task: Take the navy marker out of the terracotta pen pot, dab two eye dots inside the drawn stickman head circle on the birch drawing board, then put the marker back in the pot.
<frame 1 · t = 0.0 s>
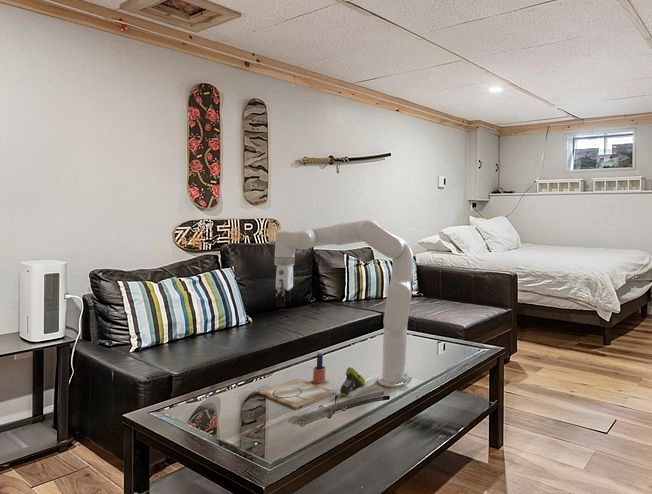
hand: (283, 303, 197), 31 cm above the table, tool pointing down, fingers open, 9 cm apart
drawing board: (297, 393, 185), on the table
pen: (319, 381, 197), point 1 cm above the table, touching pen pot
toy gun: (352, 392, 189), on the table
pen pot: (319, 382, 197), on the table
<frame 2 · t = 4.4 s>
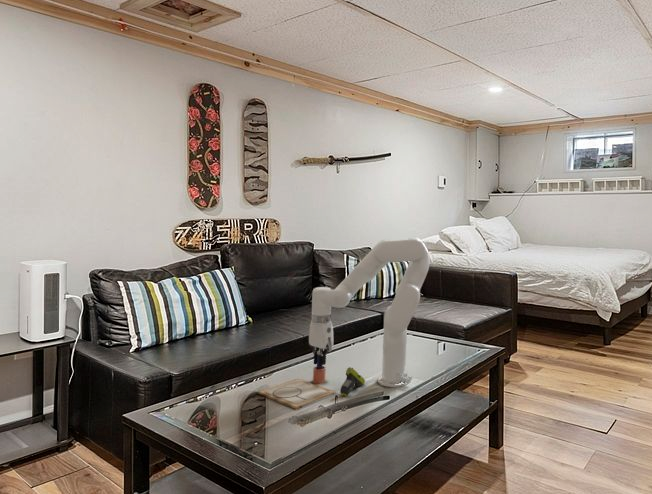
hand: (319, 363, 197), 8 cm above the table, tool pointing down, fingers closed on pen, 2 cm apart
pen: (319, 381, 197), point 1 cm above the table, touching gripper
everything else where it was.
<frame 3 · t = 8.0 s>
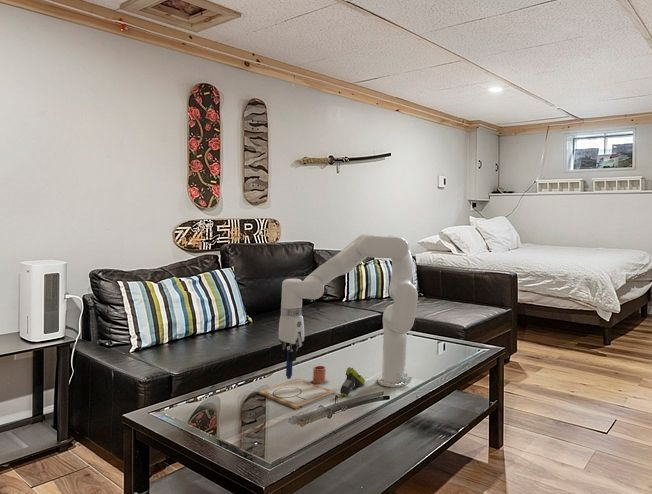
hand: (289, 360, 186), 12 cm above the table, tool pointing down, fingers closed on pen
pen: (288, 378, 186), point 5 cm above the table, touching gripper
everything else where it was.
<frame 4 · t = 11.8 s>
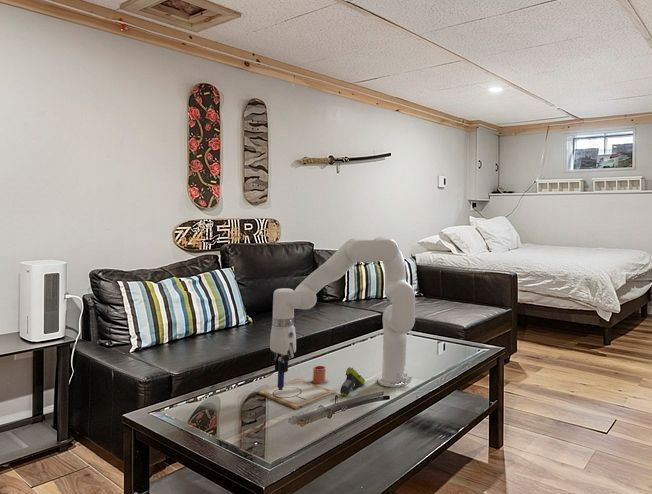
hand: (281, 371, 183), 9 cm above the table, tool pointing down, fingers closed on pen, 2 cm apart
pen: (280, 389, 183), point 2 cm above the table, touching gripper
everything else where it was.
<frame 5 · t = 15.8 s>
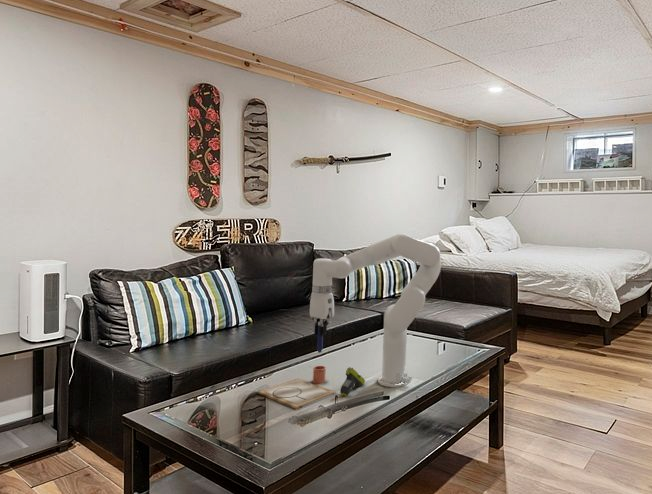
hand: (320, 334, 197), 19 cm above the table, tool pointing down, fingers closed on pen
pen: (319, 352, 197), point 12 cm above the table, touching gripper
everything else where it was.
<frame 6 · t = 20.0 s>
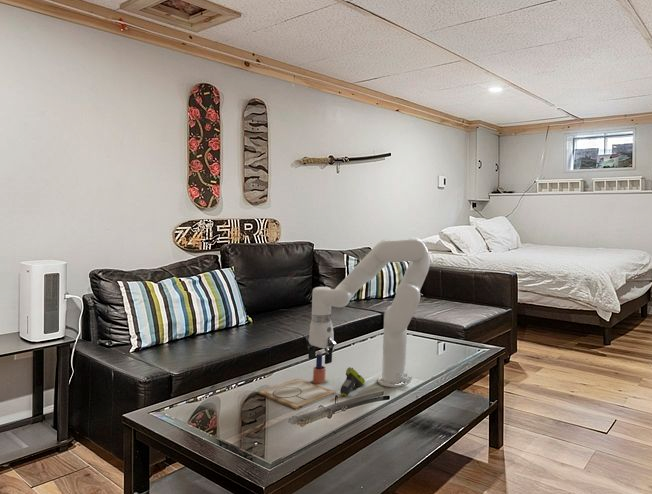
hand: (320, 360, 197), 9 cm above the table, tool pointing down, fingers open, 9 cm apart
pen: (318, 381, 197), point 1 cm above the table, touching pen pot
everything else where it was.
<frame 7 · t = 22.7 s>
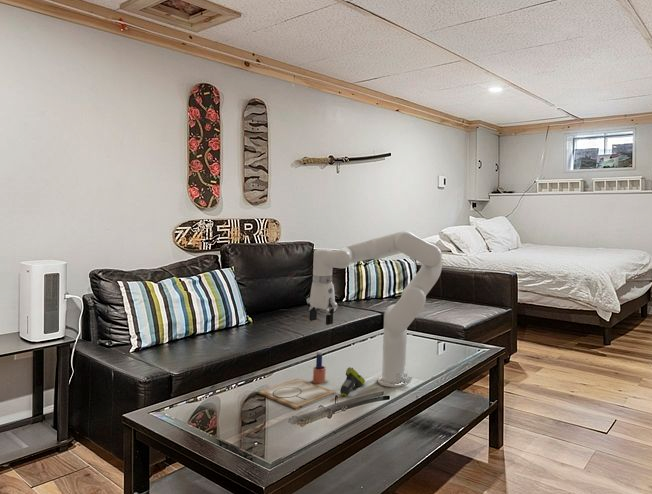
hand: (321, 322, 197), 24 cm above the table, tool pointing down, fingers open, 9 cm apart
nothing on the table moved.
at the end: pen 0.2 cm off-centre in the pen pot, point 0.6 cm above the pen pot's base; the gripper is holding nothing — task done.
